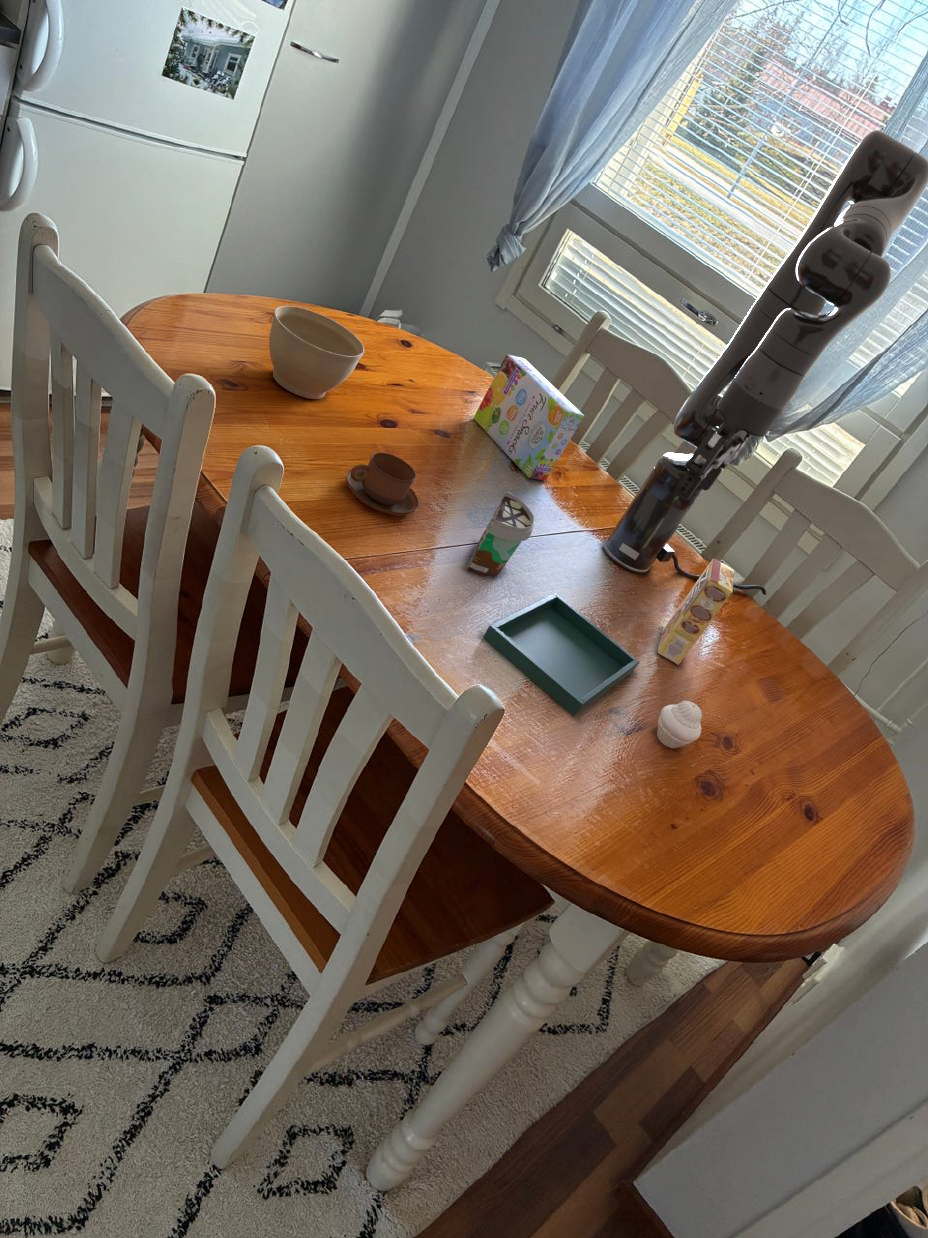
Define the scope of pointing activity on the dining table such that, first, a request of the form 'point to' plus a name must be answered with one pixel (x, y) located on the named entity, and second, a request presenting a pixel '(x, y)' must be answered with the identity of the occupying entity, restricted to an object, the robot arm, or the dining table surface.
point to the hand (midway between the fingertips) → (690, 491)
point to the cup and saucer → (384, 484)
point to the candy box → (696, 611)
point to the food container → (502, 536)
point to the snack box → (527, 417)
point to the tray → (561, 652)
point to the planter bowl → (311, 351)
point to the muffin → (679, 724)
